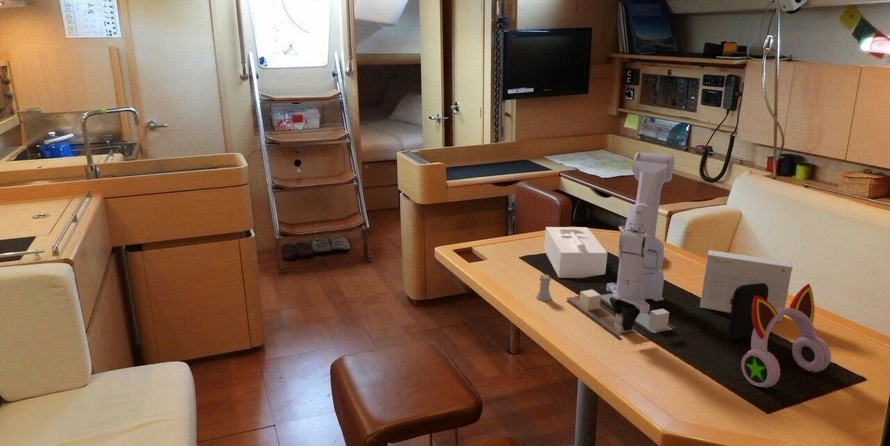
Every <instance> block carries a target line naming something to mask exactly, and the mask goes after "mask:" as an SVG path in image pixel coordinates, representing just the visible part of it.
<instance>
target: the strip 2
mask: <svg viewBox="0 0 890 446" xmlns="http://www.w3.org/2000/svg"><path fill="white" fill-rule="evenodd" d="M600 295H601V298H602V299H603V300H605V301H606V302H608V303H609V304H611V302H610V301H609V300H610V298H611V297H612V296H613V292H612V293H607V294H606V293H605V294H600ZM649 311H650V314H649V313H647V312H646V313H641V312H640V314H639V315H638V316H637V318H636V320H635V321H636V322H638V323H639V324H641V325H642V326H644V327H645V328H647V329H648V330H650V331H651V332H653V333H652V334H655V333H661V332H665V331H672V328H671V327H669V326H668V323H669V317H670V312H669V311H668V310H666V309H664V308H659V309H655V310H654V309H653V310H649Z"/></svg>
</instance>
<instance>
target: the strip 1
mask: <svg viewBox="0 0 890 446" xmlns="http://www.w3.org/2000/svg"><path fill="white" fill-rule="evenodd" d="M566 299H567V300H569V301H571V302H572V303H573V304H575V305H576V306H578V307H579V308H580V309H582V310H583V311H585V312H586V313H587V314H589V315H590V316H591V317H593V318H594V319H596V320H597V321H598V322H600V323H601V324H602V325H604V326H605V327H607V328H608V329H609V330H611V331H612V332H614V333H615V334H616V335H618V336H619V337H620V336H624V335H630V334H635V333H638V331H637V330H635V329H634V328H633V326H632V329H631V330H626V331H625V330H623V312H622V313H617V314H616V316H615V315H613V314H612V313H610V312H609V311H607V310H606V309H604V308H603V307H601V306H600V308H599V309H594V310H588V311H587V310H586V309H584V308H583V307H582V306H580V305H579V300H580V295H577V296H576V295H575V296H571V297H570V296H569V297H566Z"/></svg>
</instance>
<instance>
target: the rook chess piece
mask: <svg viewBox="0 0 890 446" xmlns="http://www.w3.org/2000/svg"><path fill="white" fill-rule="evenodd" d="M538 280H539V281H540V282H539V285H540V286H539V289H538V290H539V291H538V293H537V294H536V296H535V297H536V299H537V300H539V301H542V302H548V301H551V300H552V295H551V293H550V285H551V284H550V282H551V280H552V278H551V276H550V275H549V274H546V273H543V274H541V275H540V277H539V279H538Z"/></svg>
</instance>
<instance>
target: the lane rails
mask: <svg viewBox="0 0 890 446" xmlns="http://www.w3.org/2000/svg"><path fill="white" fill-rule="evenodd" d="M565 301H566V303H568V304H569V305H570V306H572V307H573V308H575V309H576V310H578V311H579V312H580V313H581V314H583V315H585V317H587V318H589V319H590V320H591V321H592V322H594V323H595V324H596V325H598V326H600V328H602V329H603V330H605V331H607V332H608V334H610V335H612V336H613V337H615V339H617V340H619V341H620V340H623V338H622V337H620V336H618V335H616V334H615V333H614V332H612V331H611V330H609V329H608V328H607V327H605V326H604V325H602V324H601V323H600V322H598V321H597V320H596V319H594V318H593V317H591V316H590V315H589V314H587V313H586V312H585V311H583V310H582V309H580V308H579V307H578V306H576V305H575V304H573V303H572V302H571V301H569V300H568V299H567V300H565ZM601 302H602V303H601ZM600 306H601V307H602V308H604V309H605V310H606V311H608V312H609V313H611V314H612V315H614V310H613V307H612V305H611V304H609V303H608V302H606V301H605V300H603V299H602V298H601V300H600ZM607 306H608V307H607ZM609 307H610V308H611V309H610V308H609ZM650 311H651V310H649V312H646V313H648V314H649V315H650ZM614 316H615V315H614ZM634 324H635V325H634ZM634 324H633V329H634V330H636V331H637V333H639V334H640V335H643V336H646V334H647V333H648V334H650V335H651V334H654V333H653V332H651V331H650V330H648V329H647V328H645V327H644V326H642V325H641V324H639V323H638V322H636V321H635V322H634ZM668 327H670V328H671V330H676V328H677V327H676V326H674V325H673V324H671V323H669V322H668ZM640 328H641V329H640ZM643 330H644V331H645V332H644V331H643ZM646 332H647V333H646Z"/></svg>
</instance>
